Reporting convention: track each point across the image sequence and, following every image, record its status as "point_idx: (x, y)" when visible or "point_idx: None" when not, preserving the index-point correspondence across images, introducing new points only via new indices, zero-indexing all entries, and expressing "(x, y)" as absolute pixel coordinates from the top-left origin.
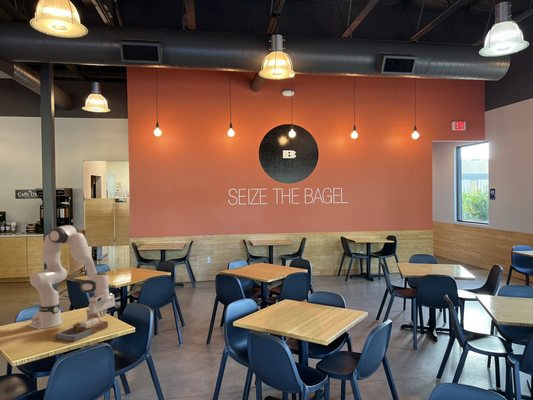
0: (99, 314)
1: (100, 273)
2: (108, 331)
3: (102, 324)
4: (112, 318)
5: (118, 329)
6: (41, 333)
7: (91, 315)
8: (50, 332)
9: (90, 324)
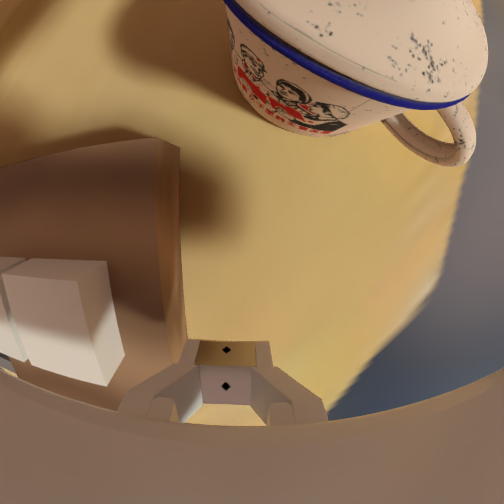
0: (379, 119)
1: None
2: None
3: (117, 406)
4: (440, 219)
5: None
6: (2, 14)
7: (240, 50)
8: (7, 31)
9: None
